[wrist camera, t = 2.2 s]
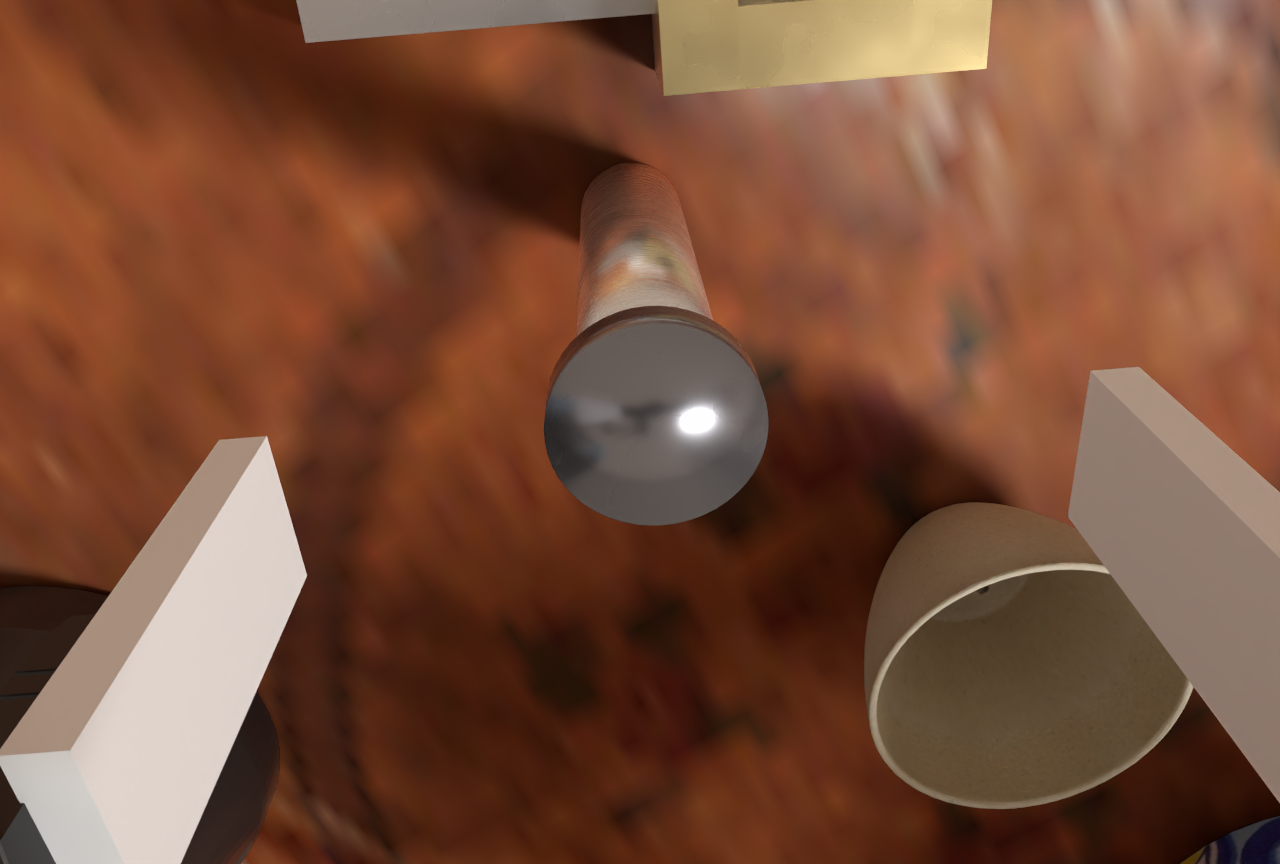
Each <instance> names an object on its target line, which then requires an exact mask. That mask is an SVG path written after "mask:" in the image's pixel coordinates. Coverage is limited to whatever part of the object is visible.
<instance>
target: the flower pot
mask: <svg viewBox="0 0 1280 864" xmlns="http://www.w3.org/2000/svg"><path fill="white" fill-rule="evenodd" d="M985 586H986V587H985ZM864 683H865V698H866V706H867V713H868V719H869V724H870V730H871V734H872V737H873V740H874V743H875V745H876V748H877V750H878V752H879V753H880V755H881V757H882V758H883V760H884V761H885V763H886V764H887V765H888V766H889V767H890V769H891V770H892V771H893V772H894V773H895V774H896V775H897V776H899V777H900V778H901V779H902V780H903V781H904V782H906V783H907V784H909V785H910V786H912V787H913V788H915V789H917V790H918V791H920V792H922V793H924V794H926V795H929V796H931V797H933V798H936V799H939V800H942V801H945V802H948V803H952V804H957V805H962V806H968V807H975V808H988V809H1015V808H1023V807H1030V806H1035V805H1041V804H1046V803H1050V802H1054V801H1057V800H1061V799H1064V798H1067V797H1070V796H1073V795H1076V794H1078V793H1081V792H1083V791H1086V790H1088V789H1091V788H1093V787H1095V786H1097V785H1099V784H1101V783H1103V782H1105V781H1107V780H1109V779H1111V778H1112V777H1114V776H1116V775H1117V774H1119V773H1121V772H1123V771H1124V770H1126V769H1127V768H1129V767H1130V766H1132V765H1133V764H1135V763H1136V762H1137V761H1139V760H1140V759H1141V758H1142V757H1143V756H1144V755H1146V754H1147V753H1148V752H1149V751H1150V750H1151V749H1152V748H1154V747H1155V746H1156V745H1157V744H1158V743H1159V742H1160V741H1161V740H1162V739H1163V738H1164V736H1165V735H1166V734H1167V733H1168V732H1169V730H1170V729H1171V728H1172V726H1173V725H1174V723H1175V722H1176V721H1177V719H1178V717H1179V716H1180V714H1181V713H1182V711H1183V709H1184V708H1185V705H1186V704H1187V702H1188V699H1189V697H1190V695H1191V693H1192V690H1193V685H1192V684H1191V683H1190V681H1189V680H1188V678H1187V677H1186V676H1185V674H1184V673H1183V672H1182V670H1181V669H1180V668H1179V666H1178V665H1177V664H1176V662H1175V661H1174V659H1173V658H1172V657H1171V655H1170V654H1169V653H1168V651H1167V650H1166V649H1165V647H1164V646H1163V645H1162V643H1161V642H1160V641H1159V639H1158V638H1157V636H1156V635H1155V634H1154V632H1153V631H1152V630H1151V628H1150V627H1149V626H1148V624H1147V623H1146V622H1145V620H1144V619H1143V618H1142V616H1141V615H1140V613H1139V612H1138V611H1137V609H1136V608H1135V607H1134V605H1133V604H1132V603H1131V601H1130V600H1129V599H1128V597H1127V596H1126V595H1125V593H1124V592H1123V590H1122V589H1121V588H1120V586H1119V585H1118V584H1117V582H1116V581H1115V580H1114V578H1113V577H1112V576H1111V574H1110V573H1109V572H1108V570H1107V569H1106V567H1105V566H1104V565H1103V563H1102V562H1101V561H1100V559H1099V558H1098V557H1097V555H1096V554H1095V553H1094V551H1093V550H1092V548H1091V547H1090V546H1089V544H1088V543H1087V542H1086V540H1085V539H1084V538H1083V536H1082V535H1081V534H1080V532H1079V531H1078V530H1077V529H1075V528H1073V527H1071V526H1069V525H1067V524H1065V523H1062V522H1060V521H1058V520H1055V519H1053V518H1050V517H1047V516H1044V515H1041V514H1038V513H1035V512H1032V511H1029V510H1025V509H1021V508H1018V507H1012V506H1007V505H1001V504H994V503H981V502H969V503H959V504H953V505H950V506H947V507H943V508H940V509H938V510H936V511H933V512H931V513H930V514H928V515H926V516H924V517H923V518H921V519H920V520H919V521H917V522H916V523H915V524H914V525H913V526H911V527H910V528H909V529H908V531H907V532H906V533H905V534H904V535H903V537H902V538H901V539H900V540H899V542H898V543H897V545H896V547H895V548H894V550H893V552H892V553H891V555H890V557H889V559H888V560H887V562H886V565H885V567H884V569H883V571H882V574H881V576H880V579H879V581H878V584H877V587H876V590H875V593H874V597H873V601H872V605H871V609H870V613H869V618H868V624H867V630H866V638H865V652H864Z"/></svg>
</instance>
